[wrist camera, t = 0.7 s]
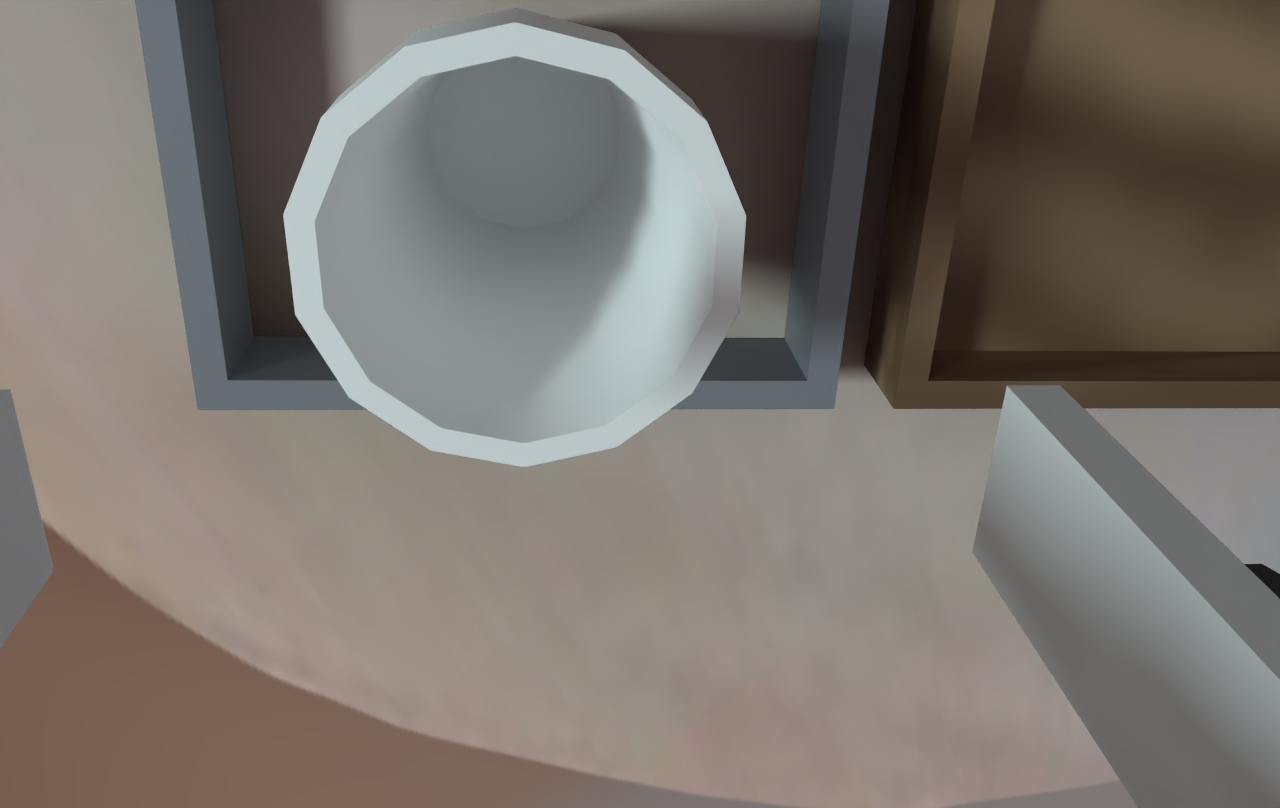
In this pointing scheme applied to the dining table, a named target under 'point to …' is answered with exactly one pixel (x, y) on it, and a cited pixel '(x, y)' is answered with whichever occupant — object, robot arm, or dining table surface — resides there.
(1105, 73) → the bin
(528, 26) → the foam cup
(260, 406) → the bin
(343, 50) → the dining table surface
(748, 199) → the dining table surface
